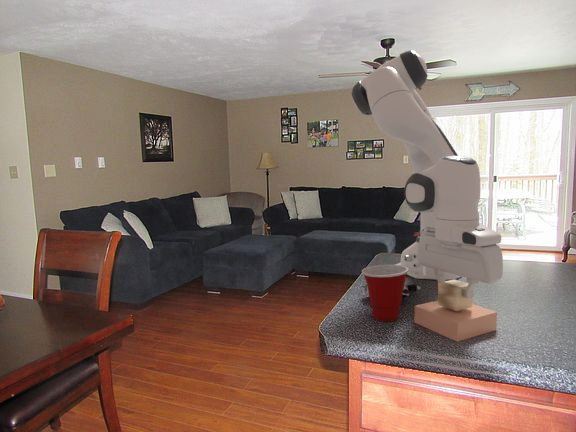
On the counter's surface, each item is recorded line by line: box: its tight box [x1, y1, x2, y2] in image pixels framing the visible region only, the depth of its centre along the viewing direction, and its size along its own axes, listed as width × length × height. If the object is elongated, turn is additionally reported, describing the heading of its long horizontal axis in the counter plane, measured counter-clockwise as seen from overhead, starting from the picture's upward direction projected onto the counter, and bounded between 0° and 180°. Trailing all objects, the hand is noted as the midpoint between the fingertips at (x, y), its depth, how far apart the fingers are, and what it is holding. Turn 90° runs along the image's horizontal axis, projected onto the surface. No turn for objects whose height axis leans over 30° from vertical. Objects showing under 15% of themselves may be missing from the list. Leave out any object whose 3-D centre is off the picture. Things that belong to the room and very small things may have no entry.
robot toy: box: [359, 281, 421, 300], centre depth 113 cm, size 12×4×15 cm
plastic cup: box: [361, 264, 408, 322], centre depth 98 cm, size 11×11×12 cm
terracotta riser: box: [414, 300, 498, 342], centre depth 92 cm, size 12×12×4 cm
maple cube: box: [437, 279, 474, 311], centre depth 91 cm, size 5×5×5 cm
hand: (454, 293), depth 91 cm, fingers open, 5 cm apart
